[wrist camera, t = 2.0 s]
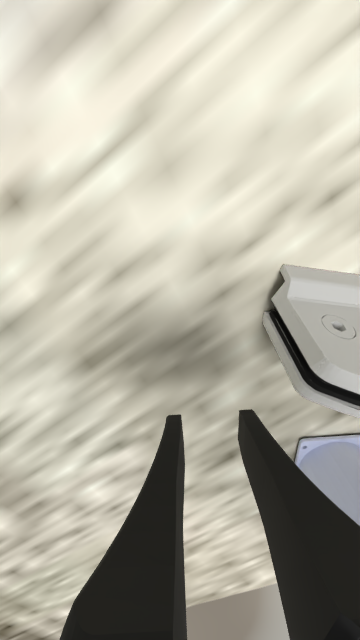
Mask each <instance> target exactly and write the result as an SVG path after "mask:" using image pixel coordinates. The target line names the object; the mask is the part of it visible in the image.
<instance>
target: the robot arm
mask: <svg viewBox="0 0 360 640" xmlns="http://www.w3.org/2000/svg"><path fill="white" fill-rule="evenodd" d="M238 441H239V446H240V451H241V455H242V459H243V463H244V466H245V469H246V472H247V475H248V478H249V482H250V485H251V488H252V491H253V494H254V497H255V500H256V503H257V506H258V509H259V512H260V515H261V519H262V522H263V525H264V529H265V533H266V537H267V541H268V545H269V549H270V554H271V558H272V562H273V566H274V570H275V575H276V579H277V583H278V587H279V592H280V596H281V601H282V605H283V609H284V614H285V618H286V623H287V627H288V632H289V636H290V640H360V435H347V436H333V437H318V438H304V439H301V440H300V442H299V446H298V450H297V455H296V459H295V463H294V462H293V461H292V460H291V458H290V457H289V456H288V455H287V454H286V453H285V451H284V450H283V449H282V448H281V447H280V445H279V444H278V443H277V442H276V441H275V439H274V438H273V437H272V435H271V434H270V433H269V432H268V430H267V429H266V428H265V426H264V425H263V424H262V422H261V421H260V419H259V418H258V417H257V415H256V414H255V412H254V411H253V410H239V428H238ZM184 476H185V458H184V440H183V430H182V420H181V415H169V416H168V417H167V418H166V424H165V428H164V432H163V436H162V439H161V442H160V445H159V448H158V451H157V453H156V456H155V459H154V462H153V464H152V466H151V469H150V471H149V474H148V476H147V478H146V481H145V483H144V485H143V487H142V489H141V491H140V493H139V495H138V497H137V499H136V501H135V503H134V505H133V507H132V509H131V511H130V513H129V515H128V516H127V518H126V520H125V522H124V524H123V525H122V527H121V529H120V531H119V532H118V534H117V536H116V537H115V539H114V541H113V542H112V544H111V546H110V547H109V549H108V550H107V552H106V554H105V555H104V557H103V559H102V560H101V562H100V563H99V565H98V566H97V568H96V569H95V571H94V572H93V574H92V575H91V577H90V578H89V580H88V581H87V583H86V584H85V585H84V587H83V588H82V590H81V591H80V593H79V594H78V596H77V597H76V599H75V601H74V603H73V605H72V608H71V610H70V612H69V615H68V617H67V620H66V623H65V625H64V628H63V631H62V634H61V637H60V640H187V628H186V627H187V626H186V602H185V576H184V548H183V504H184Z"/></svg>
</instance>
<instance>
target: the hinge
mask: <svg viewBox="0 0 360 640" xmlns="http://www.w3.org/2000/svg"><path fill="white" fill-rule="evenodd" d="M280 272H281V274H282V276H283V278H284V280H285V282H284V283H283V285H282V286H281V287H280V288H279V290H278V291H277V292H276V293H275V295H274V296H273V297H272V299H271V300H272V302H273V303H274V308H275V309H276V311H274V310H271V311H270V312H266V311H264V315H263V322H262V323H263V325H264V327H265V329H266V331H267V333H268V335H269V337H270V339H271V341H272V343H273V345H274V348H275V350H276V352H277V354H278V356H279V358H280V360H281V362H282V364H283V366H284V368H285V370H286V372H287V374H288V376H289V379H290V381H291V383H292V385H293V387H294V388H295V390H296V391H297V392H298V393H299V394H300V395H301V396H302V397H304V398H305V399H307V400H310V401H312V402H315V403H317V404H320V405H322V406H324V407H327V408H330V409H333V410H336V411H339V412H341V413H344V414H347V415H351V416H354V417H358V418H360V275H358V274H351V273H343V272H336V271H329V270H321V269H314V268H307V267H299V266H292V265H285V264H283V265H282V267H281V269H280Z"/></svg>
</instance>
